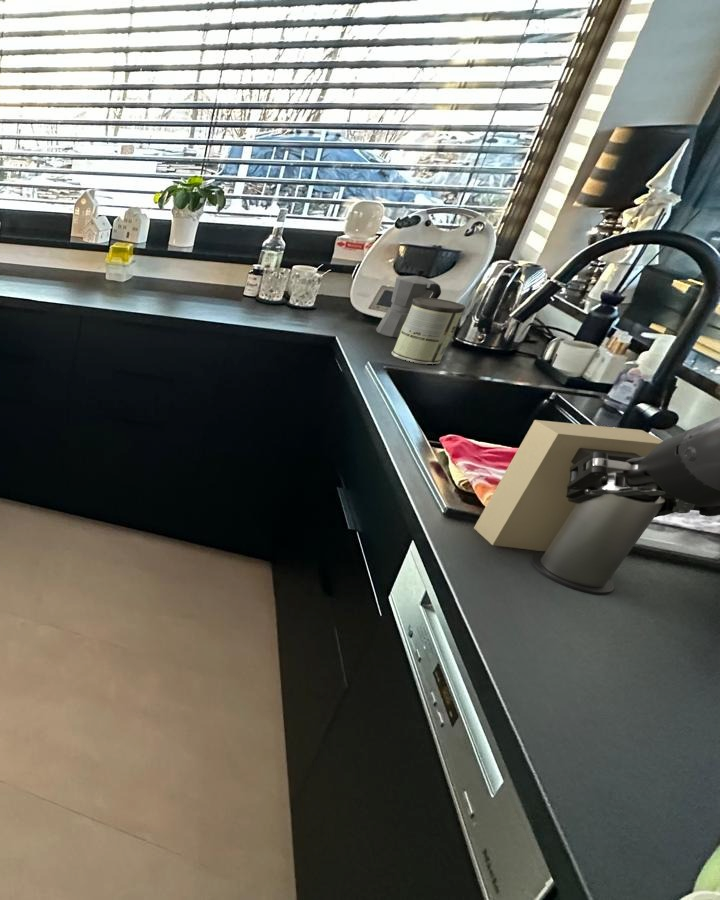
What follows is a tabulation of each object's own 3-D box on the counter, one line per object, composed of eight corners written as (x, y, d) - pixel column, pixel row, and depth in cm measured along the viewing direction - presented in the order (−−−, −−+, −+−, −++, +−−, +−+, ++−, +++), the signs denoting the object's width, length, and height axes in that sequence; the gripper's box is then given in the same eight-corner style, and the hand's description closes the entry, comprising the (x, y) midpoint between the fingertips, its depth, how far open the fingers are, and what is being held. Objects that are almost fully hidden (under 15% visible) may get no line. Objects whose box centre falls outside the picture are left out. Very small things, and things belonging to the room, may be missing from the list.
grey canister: (580, 560, 79) (640, 472, 73) (619, 591, 74) (687, 499, 68) (528, 553, 80) (584, 466, 74) (563, 584, 75) (626, 492, 69)
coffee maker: (564, 548, 85) (642, 430, 76) (646, 613, 73) (749, 483, 65) (468, 536, 86) (534, 419, 78) (535, 599, 75) (620, 470, 66)
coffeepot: (363, 326, 181) (387, 263, 173) (394, 327, 181) (420, 264, 173) (400, 343, 167) (429, 276, 159) (434, 344, 168) (464, 277, 159)
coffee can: (387, 348, 163) (409, 294, 156) (434, 355, 159) (459, 301, 152) (394, 359, 155) (418, 303, 148) (444, 367, 151) (471, 310, 144)
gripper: (844, 438, 57) (690, 488, 72) (638, 405, 62) (534, 458, 77) (846, 514, 55) (687, 549, 71) (634, 474, 61) (528, 515, 76)
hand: (608, 502), depth 74 cm, fingers closed on grey canister, 6 cm apart
